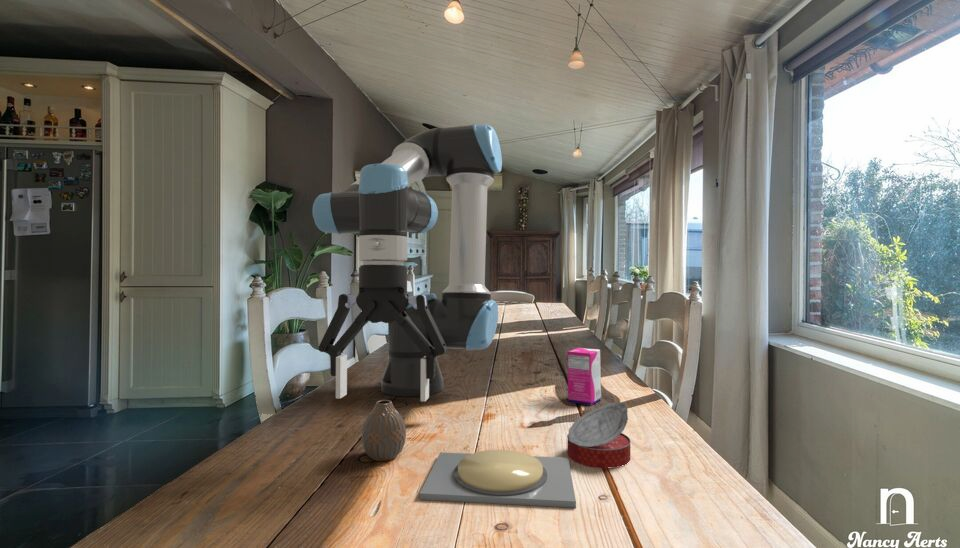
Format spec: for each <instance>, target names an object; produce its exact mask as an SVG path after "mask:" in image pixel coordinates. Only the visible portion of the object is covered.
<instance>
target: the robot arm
mask: <svg viewBox="0 0 960 548" xmlns="http://www.w3.org/2000/svg"><path fill="white" fill-rule="evenodd" d="M502 166H503V157H502V151H501V145H500V141H499V137H498V135H497V132H496V130H495V129H494V127H492V126H491V125H489V124H470V125H459V126H450V127H447V126H446V127H435V128H431V129H427V130H425V131H424V130H423V131H422V132H420V133H416V134H415V135H413V136H411V137H409V138H407V139H406V140H404V141H403V142H401V143H399V144H398V145H397V146H396V147H395V148H394V149H393V151H392V153H391V156H389V157H388V158H386V159H385V160H383V161H382V162H381V163H372V164H371V163H370V164H367V165H364V166H363V167H362V168H361V170H360V172H359V178H358V179H357V180H356V181H354V182H353V183H351V184H349V186H347V187H346V188H344V189H342V191H338V192H333V191H331V192H327V193H320V194H319V195H318V196H316V198H315V200H314V202H313V204H312V218H313V221H314V223H315V226H316V227H317V228H318V230H319V231H321V232H323V233H326V234H338V235H342V234H358V260H359V261H360V262H362V264H361V265H360V266H359V267H358V294H357V295H352V294H351V293H342V294H339V296H338V300H337V308H336V310H335V312H334V314H333V316H332V318H331V320H330V323H329V325H328V326H327V328H326V331H325V333H324V335H323V337H322V339H321V341H320V343H319V345H318V351H319V352H320V353H325V354H328V355H329V358H330V361H329V362H330V363H329V364H330V366H329V367H330V369H329V370H330V371H329V372H330V375H331V377H335V399H342V398H344V397H345V396H347V394H348V354H345V353H344V350H345V349H346V348H347V347H348V346H349V345H350V343H352V341H353V340H354V339H355V337H356V336H357V335H358V334H359V333H360V331H361V330H362V329H363V328H364V327H365V325H367V324H368V323H369V322H370V323H372V324H378V323H383V324H388V325H387V329H388V330H387V333H388V336H387V337H388V341H387V342H388V357H387V362H386V365H385V368H384V371H383V372H384V373H383V375H382V377H381V384H380V385H381V388H380V389H381V390H380V391H381V393H382V392H383V394H386V395H389V396H395V397H420V402H427V400H428V399H429V398H430V395H433V394H437V393H439V392H441V391H443V390H444V378H443V374H442V372H441V367H440V365H439V362H438V359H437V357H438V356H441V355H444V354H445V353H446V352H447V351H448V349H455V350H458V349H459V350H467V351H472V350H485V349H487V348H488V347H489V346H490V345H491V344H492V342H493V339H494V338H495V336H496V335H495V334H496V331H497V328H498V320H499V305H498V303H497V302H496V301H495V300H493V299H491V298H492V296H491V295H492V293H491V291H490V290H489V289H488V288H487V287H486V285H485V284H486V282H485V280H486V250H487V249H486V247H487V246H486V245H487V216H488V215H487V213H488V211H487V210H488V188H489V187H491V185H493V184H494V183H495V182H494V181H495V175H497V174H499V173H501V171H502V168H503V167H502ZM445 176H446V178H445V179H446V182H447V183H448V184H449V185H450V186H451V212H450V215H451V217H450V218H451V219H450V244H449V245H450V246H449V270H448V271H449V272H448V274H449V275H448V285H447V286H446V288H444V289H443V290H442V292H441V293H442V295H441V299H437V297H438V296H437V295H436V293H426V294H424V293H423V294H422V293H421V294H418V295H417V294H416V295H409V294H408V267H407V265H405V264H404V263H406V262H407V261H408V233H410V234H412V235H414V234H423V233H427V232H428V231H430V230H431V229H433V227H434V226H435V224H436V223H437V221H438V216H439V210H438V207H437V203H436V202H435V200H434V199H433V198H432V197H431V196H429V195H427V194H426V193H425V192H423V191H421V190H417V189H414V188H411V187H409V186H410V185H412V184H413V183H417V182H420V181H422V180H423V179H424V178H428V177H445ZM355 304H356V305H357V307H358V308H359V309H360V312H359V314H358V315H357V316H355V318H354V321H353V322H352V323H351V324H350V325H349V327H348V328H347V329H346V331H345V332H344V333H343V334H342V335H341V336H340V337H339V338H338V336H339V333H340V331H341V330H342V327H343V325H344V323H345V321H346V319H347V316H348V315H349V313H350V311H351V308H354V305H355ZM337 338H338V340H337ZM336 340H337V341H336Z"/></svg>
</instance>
